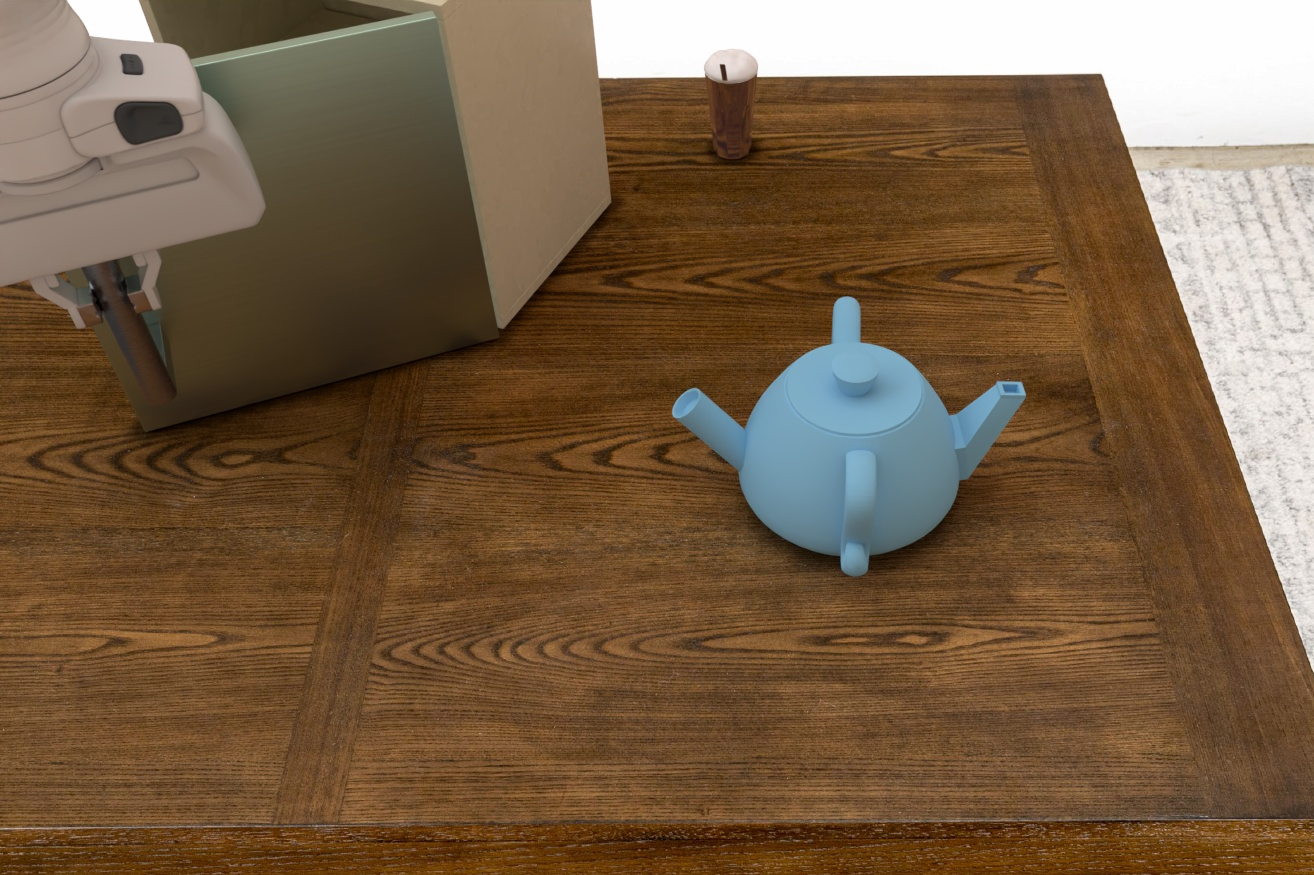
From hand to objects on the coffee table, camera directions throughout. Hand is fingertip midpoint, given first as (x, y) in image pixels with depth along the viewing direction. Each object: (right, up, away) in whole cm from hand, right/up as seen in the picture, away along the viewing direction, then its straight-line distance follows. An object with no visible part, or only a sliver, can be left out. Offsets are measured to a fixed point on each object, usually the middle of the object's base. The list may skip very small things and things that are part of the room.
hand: (120, 312), depth 76 cm
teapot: (+44, -11, +9) cm, 46 cm away
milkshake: (+37, +19, +37) cm, 56 cm away
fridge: (+11, +11, +30) cm, 34 cm away
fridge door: (+8, -5, +15) cm, 18 cm away
